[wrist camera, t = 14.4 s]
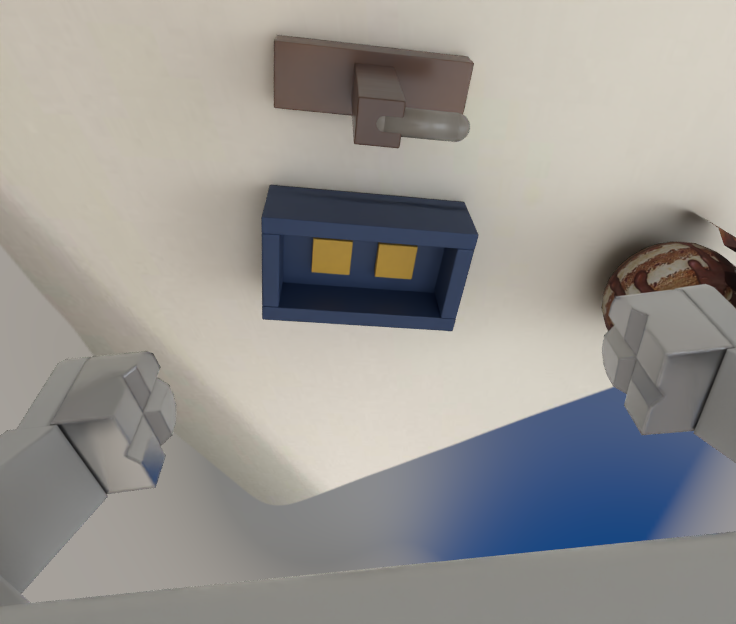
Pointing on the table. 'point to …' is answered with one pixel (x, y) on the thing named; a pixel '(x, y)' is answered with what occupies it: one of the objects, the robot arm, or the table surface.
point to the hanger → (375, 88)
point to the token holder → (364, 258)
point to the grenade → (672, 271)
